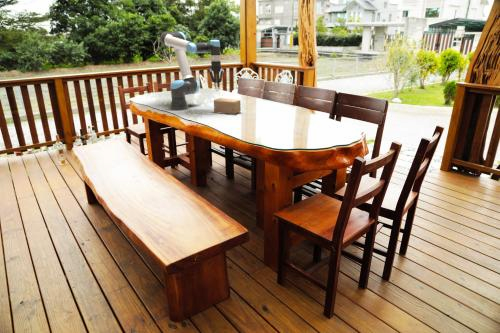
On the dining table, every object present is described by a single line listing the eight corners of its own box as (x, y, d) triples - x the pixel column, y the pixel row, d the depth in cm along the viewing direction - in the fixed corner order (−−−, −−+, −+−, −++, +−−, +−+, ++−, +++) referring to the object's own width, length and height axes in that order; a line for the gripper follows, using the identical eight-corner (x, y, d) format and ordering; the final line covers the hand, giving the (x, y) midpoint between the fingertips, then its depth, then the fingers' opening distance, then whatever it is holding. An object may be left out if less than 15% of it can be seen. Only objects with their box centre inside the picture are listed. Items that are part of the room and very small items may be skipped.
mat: (215, 112, 266) (215, 112, 266) (222, 109, 278) (222, 108, 278) (234, 113, 261) (234, 113, 261) (240, 110, 273) (240, 109, 273)
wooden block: (213, 112, 266) (235, 114, 258) (213, 99, 263) (234, 101, 254) (220, 109, 275) (241, 111, 266) (219, 97, 271) (240, 99, 263)
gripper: (206, 61, 256) (208, 91, 265) (221, 61, 252) (222, 92, 261) (210, 60, 263) (211, 90, 271) (225, 60, 259) (226, 90, 267)
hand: (217, 91), depth 266 cm, fingers closed
